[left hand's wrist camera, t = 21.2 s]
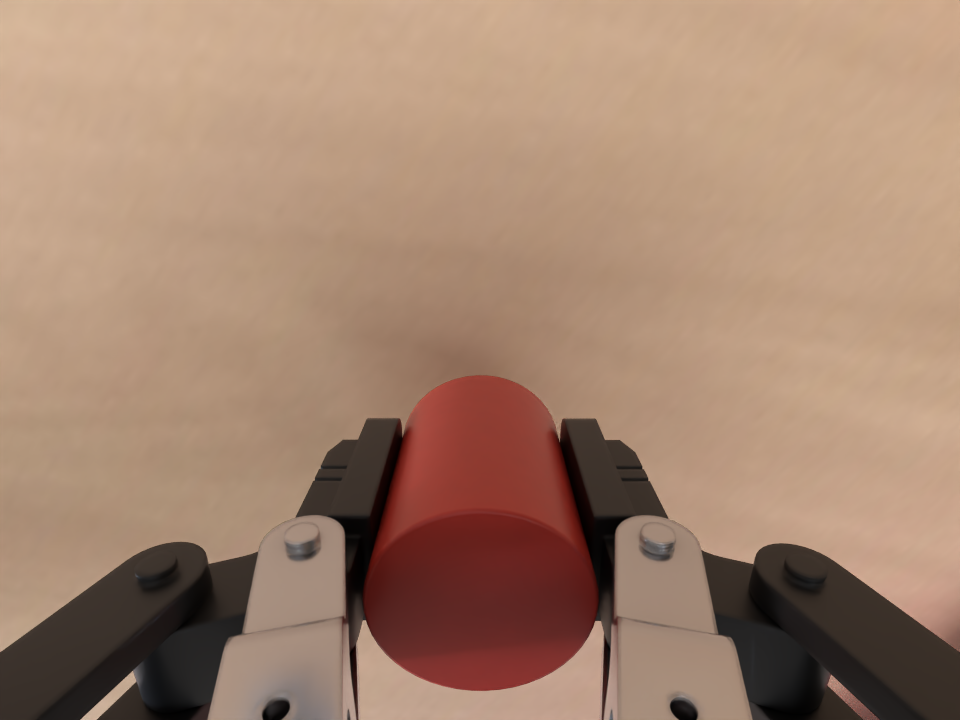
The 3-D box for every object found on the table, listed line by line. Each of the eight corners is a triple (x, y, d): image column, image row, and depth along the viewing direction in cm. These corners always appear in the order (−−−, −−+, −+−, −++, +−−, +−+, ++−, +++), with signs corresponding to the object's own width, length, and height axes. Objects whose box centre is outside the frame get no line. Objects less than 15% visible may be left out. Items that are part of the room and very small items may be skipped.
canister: (406, 368, 12) (362, 502, 8) (567, 380, 12) (619, 519, 8) (401, 502, 14) (361, 686, 9) (546, 513, 14) (580, 699, 9)
